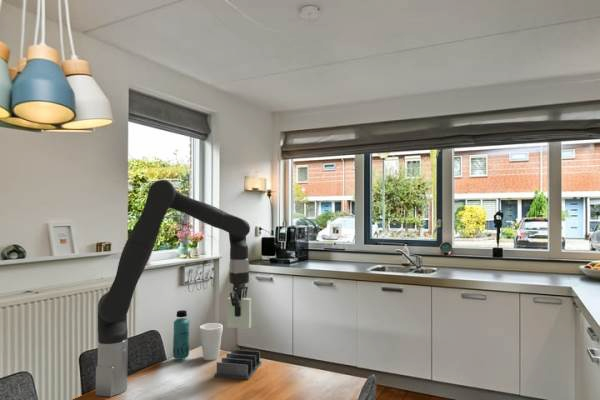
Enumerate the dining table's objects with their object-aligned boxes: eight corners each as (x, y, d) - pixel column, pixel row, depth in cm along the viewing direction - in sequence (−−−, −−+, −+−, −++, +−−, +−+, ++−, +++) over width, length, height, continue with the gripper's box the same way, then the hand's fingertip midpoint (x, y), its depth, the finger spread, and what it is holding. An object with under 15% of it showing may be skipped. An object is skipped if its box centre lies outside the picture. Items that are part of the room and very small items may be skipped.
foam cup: (227, 356, 173) (227, 325, 173) (211, 363, 165) (211, 330, 165) (210, 352, 178) (210, 321, 178) (194, 358, 170) (194, 327, 170)
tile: (249, 328, 156) (249, 299, 157) (226, 327, 158) (226, 298, 158) (251, 326, 159) (251, 298, 159) (229, 325, 161) (229, 297, 161)
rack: (248, 379, 149) (248, 366, 149) (214, 376, 152) (214, 363, 152) (261, 363, 165) (261, 351, 165) (230, 360, 167) (230, 348, 168)
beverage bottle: (169, 360, 167) (169, 311, 168) (181, 355, 173) (181, 308, 174) (181, 363, 164) (181, 313, 165) (192, 358, 170) (193, 310, 171)
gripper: (236, 267, 167) (236, 310, 166) (223, 273, 153) (222, 319, 153) (254, 268, 165) (254, 311, 165) (242, 273, 151) (242, 320, 151)
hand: (239, 315), depth 159 cm, fingers closed on tile, 2 cm apart
